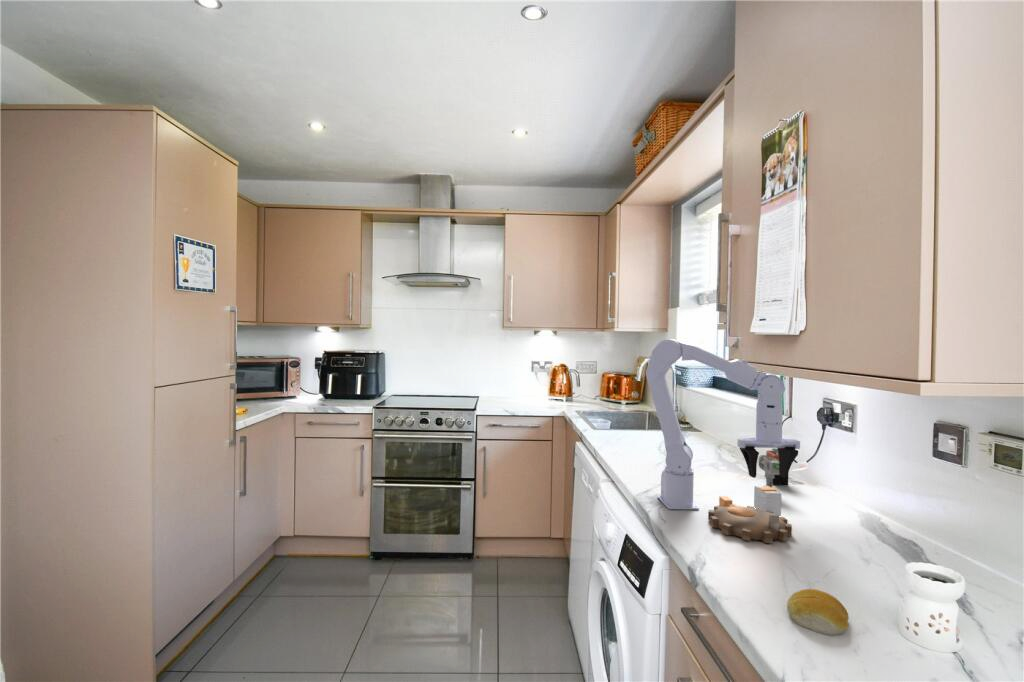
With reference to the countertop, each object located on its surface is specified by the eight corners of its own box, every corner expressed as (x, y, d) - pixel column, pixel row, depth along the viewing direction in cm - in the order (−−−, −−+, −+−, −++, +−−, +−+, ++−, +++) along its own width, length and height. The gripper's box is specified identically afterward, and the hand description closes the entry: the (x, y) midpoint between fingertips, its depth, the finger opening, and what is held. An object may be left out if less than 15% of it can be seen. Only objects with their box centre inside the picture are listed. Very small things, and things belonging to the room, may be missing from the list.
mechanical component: (766, 487, 142) (767, 454, 141) (782, 499, 131) (783, 463, 131) (756, 487, 142) (757, 453, 142) (771, 498, 132) (772, 463, 131)
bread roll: (848, 615, 77) (849, 591, 77) (847, 644, 70) (848, 617, 70) (789, 597, 82) (790, 575, 82) (783, 623, 75) (784, 598, 75)
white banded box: (753, 508, 124) (754, 484, 124) (767, 508, 124) (768, 484, 124) (766, 517, 118) (766, 492, 118) (781, 517, 118) (781, 492, 118)
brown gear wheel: (696, 525, 111) (697, 504, 111) (724, 507, 123) (725, 488, 123) (778, 550, 99) (778, 526, 99) (800, 526, 111) (800, 505, 111)
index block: (719, 507, 124) (719, 496, 124) (726, 507, 124) (726, 496, 124) (724, 512, 121) (724, 500, 121) (732, 512, 121) (732, 500, 121)
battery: (780, 479, 150) (780, 448, 150) (788, 486, 143) (789, 453, 143) (765, 478, 150) (765, 447, 150) (773, 485, 144) (774, 452, 144)
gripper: (747, 424, 114) (746, 481, 114) (808, 425, 114) (807, 482, 114) (734, 419, 121) (732, 472, 121) (791, 420, 121) (789, 473, 121)
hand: (767, 476), depth 118 cm, fingers open, 7 cm apart
